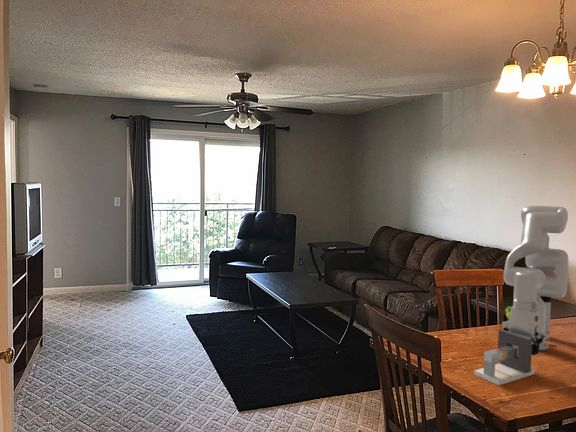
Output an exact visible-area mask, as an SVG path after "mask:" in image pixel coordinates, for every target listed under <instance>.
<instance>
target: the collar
mask: <svg viewBox="0 0 576 432" xmlns="http://www.w3.org/2000/svg"><path fill="white" fill-rule="evenodd" d="M497 341H498V343H497V348H502V347H506V346H510V345H511V344H512V345H515V346H518V347H519V349H518V357H517V356H516V357H512V358H508V359H505V360H504V361H502V360H501V361H497V362H498V363H503V364H506V365H508V366H511V367H513V368H516V369H518V370H521V371H524V372H526V373H529V372H531V369H532V339H530V338H527V337H524V336H521V335H518V334H515V333H512V332H509V331H505V330H504V329H499V330H498V340H497Z"/></svg>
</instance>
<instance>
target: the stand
mask: <svg viewBox="0 0 576 432" xmlns="http://www.w3.org/2000/svg"><path fill="white" fill-rule="evenodd" d="M517 357H518V356H517ZM473 372H474V376H477V377H479V378H481V379H483V380H486V381H488V382H490V383H493V384H495V385H497V386H500V385H504V384H508V383H510V382H513V381H516V380H517V381H518V380H520V379H522V378H527V377H529V376H532V375H535V374H536V370H535V369H533V368H531V372H529V373H526V372H524V371H521V370H518V369H516V368H513V367H511V366H508V365H506V364H503V363H501V362H499V363H496V362H494V363H490V362H488V361H485V360H484V359H483V367H482V368H479V369H475V370H474V371H473Z"/></svg>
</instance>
